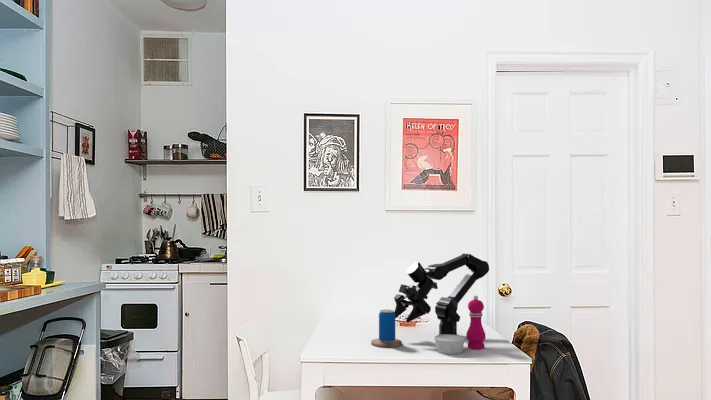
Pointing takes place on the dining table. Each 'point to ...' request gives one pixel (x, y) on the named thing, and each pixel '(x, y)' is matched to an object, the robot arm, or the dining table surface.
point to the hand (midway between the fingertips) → (400, 319)
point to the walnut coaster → (386, 345)
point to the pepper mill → (475, 325)
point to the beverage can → (387, 326)
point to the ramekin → (449, 343)
